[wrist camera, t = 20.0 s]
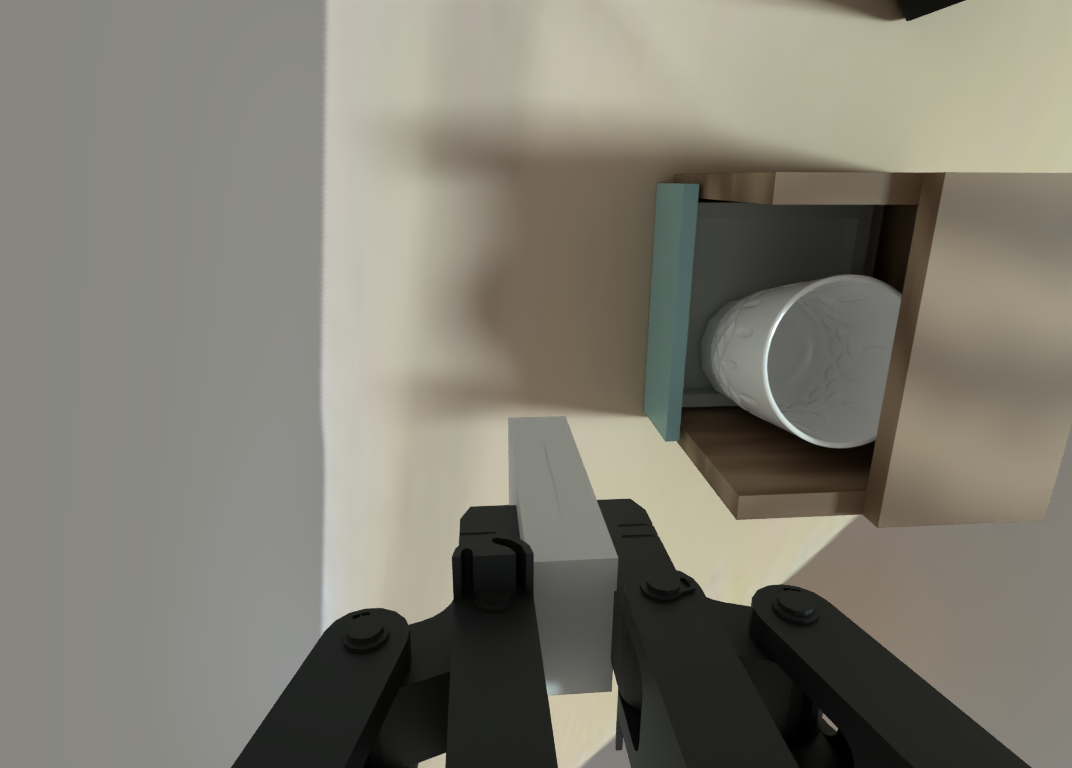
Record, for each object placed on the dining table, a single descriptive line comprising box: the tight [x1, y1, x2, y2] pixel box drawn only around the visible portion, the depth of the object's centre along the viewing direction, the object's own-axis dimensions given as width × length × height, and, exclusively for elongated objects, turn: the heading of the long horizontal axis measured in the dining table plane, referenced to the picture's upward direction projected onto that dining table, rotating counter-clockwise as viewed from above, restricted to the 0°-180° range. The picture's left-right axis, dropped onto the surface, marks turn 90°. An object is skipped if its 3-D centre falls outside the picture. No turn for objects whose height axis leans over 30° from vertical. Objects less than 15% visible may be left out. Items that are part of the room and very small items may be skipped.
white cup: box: [700, 274, 902, 448], centre depth 34 cm, size 8×8×10 cm
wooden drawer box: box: [675, 172, 1072, 528], centre depth 33 cm, size 15×14×14 cm
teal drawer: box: [644, 183, 885, 441], centre depth 37 cm, size 14×13×5 cm
